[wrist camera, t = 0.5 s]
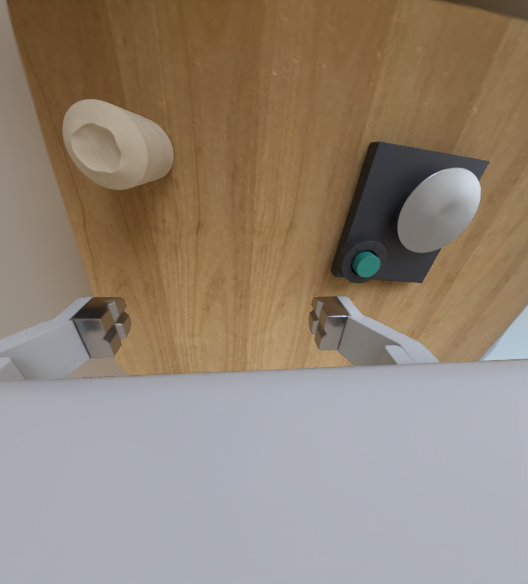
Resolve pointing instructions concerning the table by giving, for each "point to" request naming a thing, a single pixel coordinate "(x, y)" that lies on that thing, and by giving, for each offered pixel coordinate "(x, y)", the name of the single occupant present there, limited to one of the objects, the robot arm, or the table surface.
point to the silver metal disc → (438, 209)
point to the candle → (115, 145)
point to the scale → (390, 211)
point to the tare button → (366, 264)
